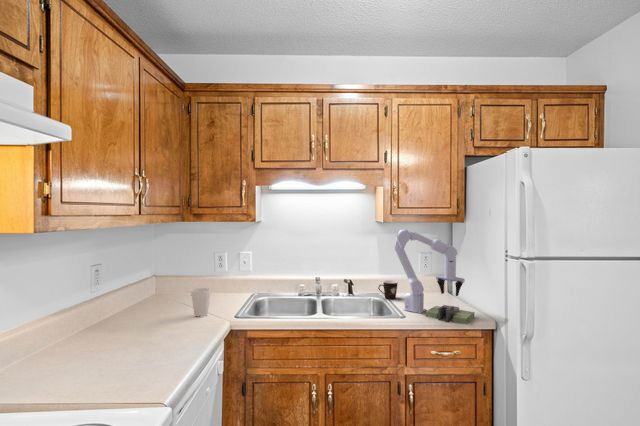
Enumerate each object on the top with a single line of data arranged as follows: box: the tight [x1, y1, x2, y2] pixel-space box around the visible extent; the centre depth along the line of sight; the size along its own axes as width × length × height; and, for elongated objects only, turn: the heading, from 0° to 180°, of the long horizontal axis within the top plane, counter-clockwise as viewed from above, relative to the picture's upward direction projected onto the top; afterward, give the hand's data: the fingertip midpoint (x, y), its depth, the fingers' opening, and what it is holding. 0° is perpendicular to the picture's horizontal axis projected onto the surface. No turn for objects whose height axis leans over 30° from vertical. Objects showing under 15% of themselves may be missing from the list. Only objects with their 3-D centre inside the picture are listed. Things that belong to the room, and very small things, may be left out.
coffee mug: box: [378, 279, 399, 301], centre depth 236 cm, size 12×9×10 cm
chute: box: [437, 304, 454, 323], centre depth 194 cm, size 5×8×6 cm, turn 142°
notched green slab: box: [425, 305, 475, 325], centre depth 198 cm, size 20×14×4 cm
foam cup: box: [190, 287, 211, 317], centre depth 198 cm, size 10×9×13 cm
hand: (449, 294), depth 206 cm, fingers open, 7 cm apart
